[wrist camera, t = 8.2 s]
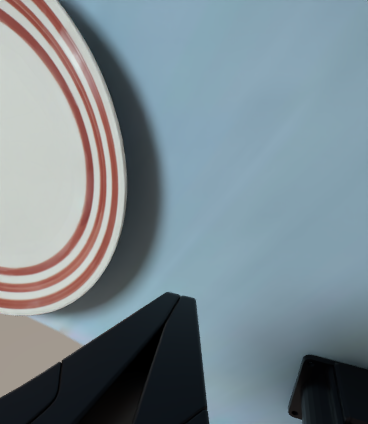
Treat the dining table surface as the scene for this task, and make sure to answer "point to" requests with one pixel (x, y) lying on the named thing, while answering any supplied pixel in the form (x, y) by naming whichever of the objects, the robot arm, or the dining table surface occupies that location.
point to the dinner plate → (54, 161)
